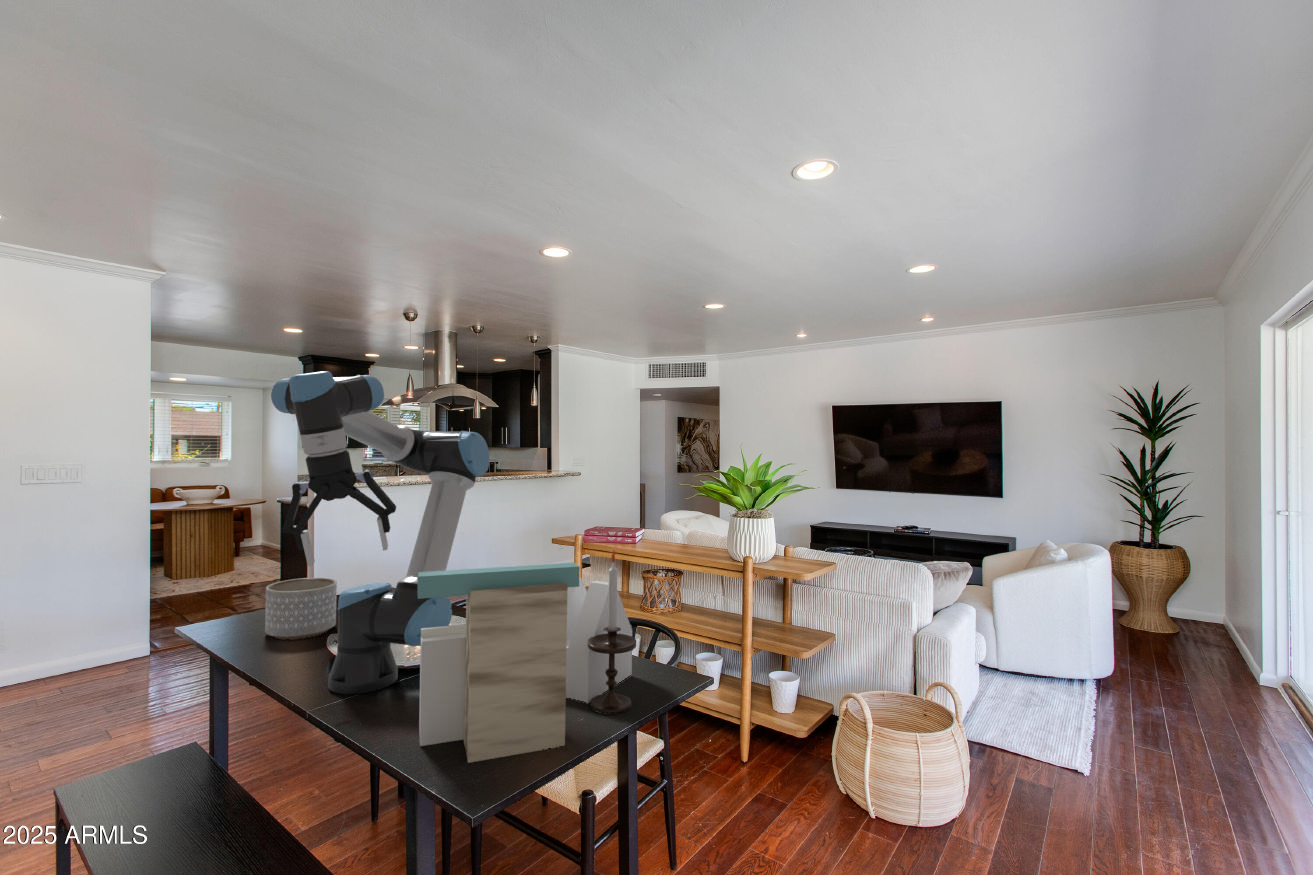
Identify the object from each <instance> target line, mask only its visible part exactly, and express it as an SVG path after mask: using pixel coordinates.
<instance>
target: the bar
mask: <svg viewBox="0 0 1313 875" xmlns="http://www.w3.org/2000/svg"><path fill="white" fill-rule="evenodd" d="M580 570H581V569H580V566H579V564H577V563H576V562H567V563H548V564H533V565H532V564H531V565H516V566H501V567H500V566H497V567H482V568H467V569H466V568H465V569H463V568H462V569H448V570H447V569H446V571H429V572H418V599H421V598H434V597H447V598H448V597H457V596H459V597H460V596H466V595H470V590H481V589H494V588H508V587H522V586H536V585H550V584H563V583H567V584H568V587H579V579H580Z"/></svg>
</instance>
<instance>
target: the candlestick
mask: <svg viewBox="0 0 1313 875" xmlns="http://www.w3.org/2000/svg"><path fill="white" fill-rule="evenodd" d="M611 562H612V563H611V567H610V568H609V569H608V583H609V604H608V627H606V628H604V629H603V630H604V631H607V632H608V634H601V635H597V636H595V637H591V638H590V639H588V648H589V649H590V650H592V651H594V652H598V653H604V654H609V668H608V669H607V670H606V671H605V673H606V675H607V677H608V681H606V685H608V691H607V693H604V694H602V695H598V696H596V697H594V698H593V699H592V700H591V702H590V708H591V710H592V709H593V710H592V711H594V710H595V711H598V712H601V713H607V714H606V715H616V714H615V713H620V714H622V713H625V712H624V711H626V710H628V709H629V708H630V707H632V699H631V698H630V697H628V696H627V695H625V694H621V693H615V687H614V685H616V684H617V681H615V676H617V673H618V671H617V669H615V654H618V653H625V652H629V651H631V650H632V651H633V650H635V649H636V648H637V638H635V637H634V636H633V635H632V636H629V635H625V634H617V632H618V631H620V630H621V628H619V627H616V625H617V591H618V568H617V567H616V565H615V562H616V551H615V549H613V552H612V554H611ZM616 686H617V685H616ZM630 709H631V708H630ZM630 709H629V710H630ZM629 710H628V711H629ZM595 711H594V712H595ZM598 712H597V713H598ZM626 712H627V711H626ZM601 713H600V714H601ZM609 713H610V714H609Z"/></svg>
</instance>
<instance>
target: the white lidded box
mask: <svg viewBox="0 0 1313 875" xmlns="http://www.w3.org/2000/svg"><path fill="white" fill-rule="evenodd" d="M465 642H466V623H463V624H455V625H454V624H453V625H449V626H442V627H431V628H421V646H420V658H419V659H420V660H419V661H420V662H419V663H420V664H419V666H420V667H419V706H418V707H419V710H418V711H419V713H418V714H419V717H418V719H419V720H418V729H419V730H418V731H419V747H424V746H431V745H436V744H442V743H443V744H444V743H449V742H455V741H456V742H457V741H462V740H463V741H464V698H465Z"/></svg>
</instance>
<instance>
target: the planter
mask: <svg viewBox="0 0 1313 875" xmlns="http://www.w3.org/2000/svg"><path fill="white" fill-rule="evenodd" d="M337 588H338V586H337V580H336V579H334V578H329V577H328V578H327V577H303V578H301V577H300V578H292V579H288V580H287V579H286V580H282V581H281V580H280V581H277V582H276V581H275V582H273V583H271V584H268V585H267V586H266V587H265V609H264V610H265V611H264V613H265V616H264V618H265V620H264V633H265V634H266V635H267V636H271V637H273V636H274V637H276V638H275V639H277V638H280V639H279V640H286V639H290V640H297V639H296V638H302V639H306V638H305V637H309V638H312V637H311V636H313V637H316V635H317V636H320V635H323V634H325V633H327V632H328V631H329V630H330V629H332V628H333V627H335V626H336V624H337ZM324 632H325V633H324ZM322 633H323V634H322ZM319 634H320V635H319ZM274 637H273V638H274Z"/></svg>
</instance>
